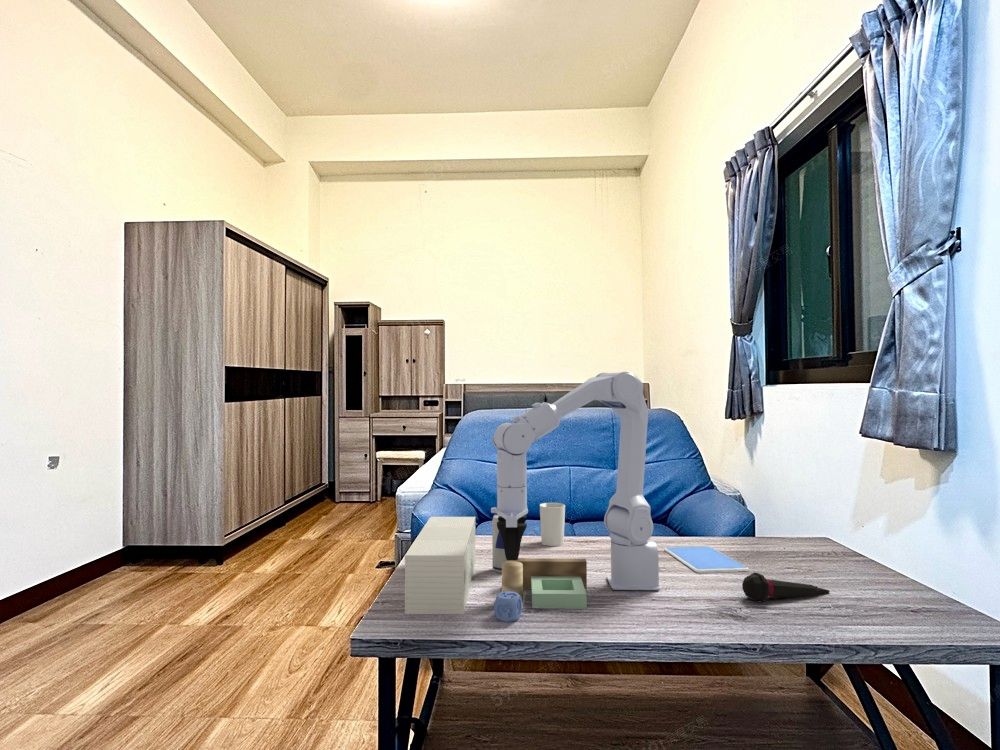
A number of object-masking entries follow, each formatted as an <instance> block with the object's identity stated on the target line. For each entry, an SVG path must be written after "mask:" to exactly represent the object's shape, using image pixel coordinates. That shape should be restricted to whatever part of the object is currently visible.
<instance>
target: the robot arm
mask: <svg viewBox="0 0 1000 750" xmlns="http://www.w3.org/2000/svg"><path fill="white" fill-rule="evenodd" d="M592 401H599V402H601V403H602V404H604V405H606V406H607V407H610V409H612V410H613V412H615V413H616V414H617V415H618V416H619V418H620V431H619V444H618V445H619V446H618V458H617V459H618V460H617V475H616V476H617V477H616V489H615V493H614V494H613V495H612V496H611V498H610V499H609V501H608V508H607V510H606V512H605V514H604V517H603V524H604V527H605V529H606V530H607V531H608V532H609V538H610V574H608V575H606V579H607V581H608V583H609V587H611V589H612V590H613V591H614V590H615V591H659V590H660V588H661V587H660V576H659V575H660V574H659V573H660V571H659V570H660V569H659V567H660V566H659V564H660V561H659V560H660V559H659V550H658V545H657V543H656V541H651V540H650V538H651V537H652V535H653V532H654V523H653V520H652V516H651V505H650V504H649V503H648V501H647V500H646V499H645V497H644V485H645V484H644V483H645V467H646V455H647V454H646V453H647V452H646V451H647V435H648V423H649V421H648V420H649V409H648V405H647V402H646V398H645V396H644V382H642V381H641V380H640V378H638V376H637V375H636V374H634V373H633V372H632V371H627V370H626V371H620V372H600V373H598V374H596V375H595V376H593V377H590V378H588V379H587V380H586V381H584V382H583V383H581V384H580V385H578V386H577V387H575V388H574V389H572V390H570V391H569V392H568V393H566V394H565V395H563V396H562V397H559V398H558V400H555V401H554V402H552V403H550V402H549V403H548V402H544V401H543V402H542V403H541V402H534V403H533V404H531V406H532V408H531V409H529V410H528V411H526V412H524V413H523V414H520V415H514V416H513V417H512V422H503V423H501V424H499V425H498V426H497V428H496V430H494V433H493V436H492V437H491V440H492V441H491V442H492V443H493V446H494V447H495V449H496V454H497V455H496V507H495V506H494V507H491V508H490V513H491V514H496V515H498V514H499V515H500V516H499V517H498V520H499V522H497V528H498V530H499V532H500V534H501V537H502V540H503V545H504V551H505V556H506V559H507V560H518V558H519V556H520V550H521V543H522V539H523V536H524V534H525V531H526V529H527V526H528V523H525V522H527V514H528V513H529V509H528V501H527V500H528V499H527V498H528V497H527V495H528V488H527V484H528V483H527V480H528V478H527V477H528V474H527V473H528V472H527V471H528V470H527V468H528V466H527V465H528V463H527V452H528V451H529V450H530V449H531V446H532V444H533V443H534V442H536V441H538V440H539V439H540V438H542V437H544V436H546V435H547V434H549V433H551V432H552V431H554V430H555V429H557V428H558V427H559V426H560V422H561V419H562V418H564V417H565V416H567V415H569V414H570V413H572V412H574V411H576V410H578V409H579V408H582V407H583V406H585V405H587V404H589V403H591V402H592ZM649 540H650V541H649Z"/></svg>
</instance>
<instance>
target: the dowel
mask: <svg viewBox="0 0 1000 750" xmlns="http://www.w3.org/2000/svg"><path fill="white" fill-rule="evenodd" d="M505 591H511V592H516V593H518V594H519V595H520V596H521V598H522V603H523V602H524V596H523V595H524V589H523V564H522V563H521V562H516V561H508V562H504V563H502V573H501V592H505Z"/></svg>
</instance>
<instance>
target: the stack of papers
mask: <svg viewBox="0 0 1000 750" xmlns="http://www.w3.org/2000/svg"><path fill="white" fill-rule="evenodd" d="M475 564H476V516H430V517H429V518H428V519H427V522H426V523H425V524H424V526H423V527H422V529H421V530H420V532H419V534H417V537H416V538H415V539H414V541H413V542H412V544H411V546H410V547H409V549H408V550H407V552H406V553H405V555H404V571H405V572H404V615H464V614H465V609H466V606H467V601H468V597H469V592H470V587H471V583H472V580H473V579H472V578H473V575H474V570H475Z"/></svg>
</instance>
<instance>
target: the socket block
mask: <svg viewBox="0 0 1000 750" xmlns="http://www.w3.org/2000/svg"><path fill="white" fill-rule="evenodd" d="M530 592H531V605H532V606H531V607H532V609H587V608H588V607H587V603H588V602H587V591H586V589H585V588H584V585H583V582H582V579H581V577H576V576H531V591H530Z"/></svg>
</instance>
